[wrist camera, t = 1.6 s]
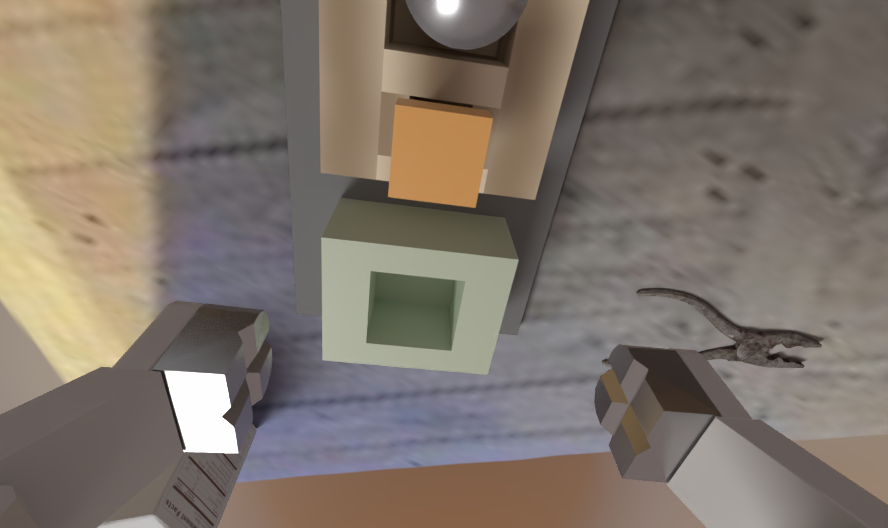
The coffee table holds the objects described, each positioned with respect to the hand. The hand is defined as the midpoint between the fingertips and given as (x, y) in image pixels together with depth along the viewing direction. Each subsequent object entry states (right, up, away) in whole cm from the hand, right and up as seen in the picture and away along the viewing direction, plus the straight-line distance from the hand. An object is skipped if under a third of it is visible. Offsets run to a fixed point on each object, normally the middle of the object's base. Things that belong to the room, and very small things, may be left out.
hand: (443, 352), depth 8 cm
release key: (0, +9, +15) cm, 17 cm away
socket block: (0, +15, +17) cm, 23 cm away
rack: (-2, +2, +25) cm, 25 cm away
